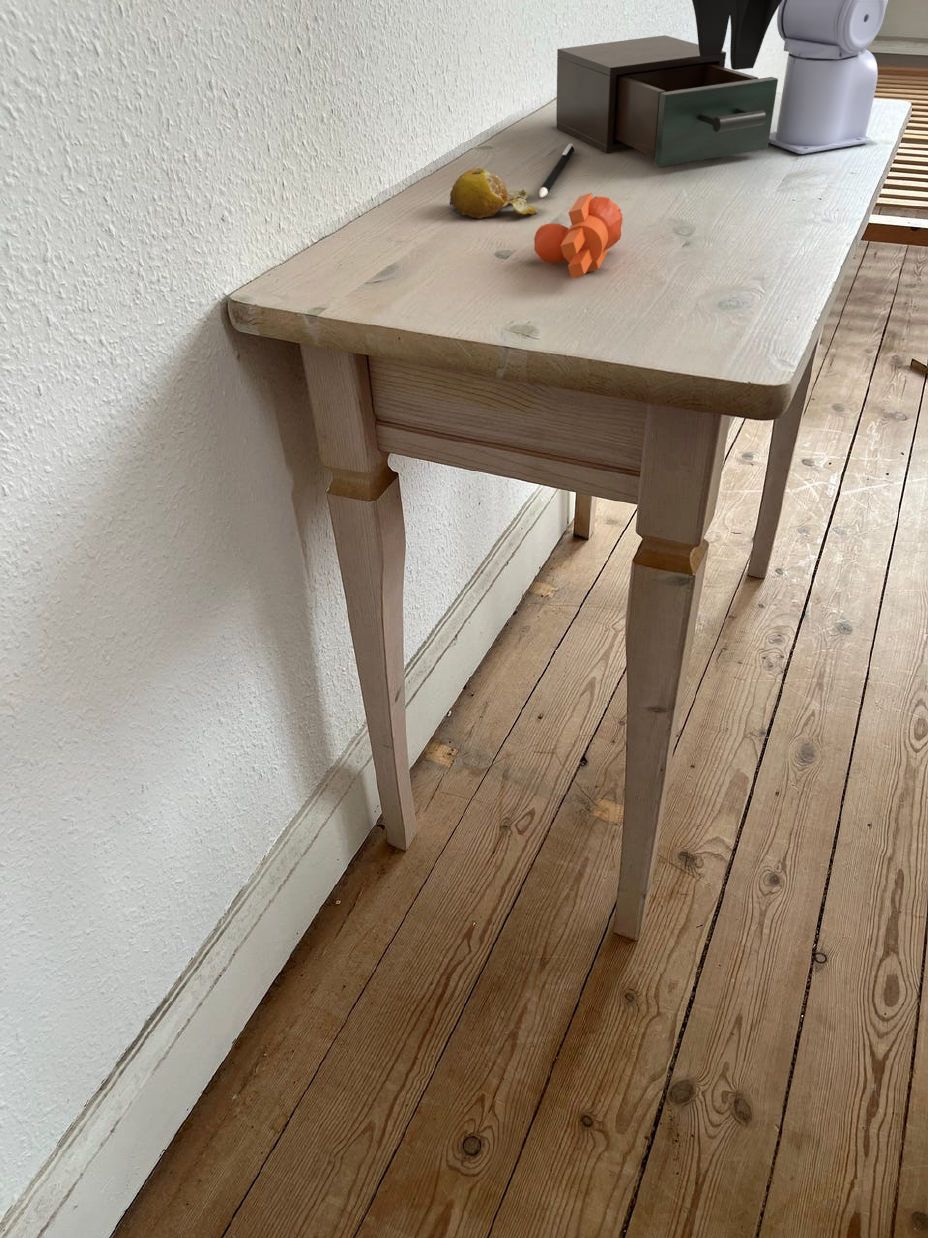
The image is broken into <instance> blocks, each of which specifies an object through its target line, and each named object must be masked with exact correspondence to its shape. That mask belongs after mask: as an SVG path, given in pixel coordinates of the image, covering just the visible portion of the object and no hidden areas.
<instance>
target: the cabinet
mask: <svg viewBox="0 0 928 1238" xmlns="http://www.w3.org/2000/svg"><path fill="white" fill-rule="evenodd" d="M726 58H727V52H726V51H723V50H722V52H721V55H713V56H703V57H702V56H700V52H699V45H698V43H696V42H695V43H694V42H691V41H687V40H683V39H680V38H676V37H672V36H669V35H657V36H649V37H648V36H647V37H642V38H641V37H640V38H633V39H625V40H617V41H609V42H608V41H607V42H601V43H593V44H586V45H578V46H577V45H576V46H570V47H562V48H557V49H556V109H555V110H556V117H555V118H556V119H555V121H556V124H555V128H556V129H557V130H559V131H561V132H563V133H565V134H567V135H570V136H571V137H573V138H575V139H578V140H580V141H582V142H583V143H585V144H588V145H589V146H591V147H593V148H595V149H598V150H600V151H601V152H603V153H606V154H609V153H616V152H623V151H629V150H634V149H635V148H633V147H631V146H629V145H627V144H624V143H622V142H620V141H618V140H616V139H614V138H613V131H614V111H615V91H616V75H620V74H628V73H635V72H642V71H650V70H657V69H664V68H671V67H679V66H686V65H693V64H700V63H711V64H714V65H718V66H721V67H725V66H726V60H727V59H726ZM725 68H726V67H725ZM635 150H636V149H635Z"/></svg>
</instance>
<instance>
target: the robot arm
mask: <svg viewBox="0 0 928 1238" xmlns="http://www.w3.org/2000/svg"><path fill="white" fill-rule="evenodd" d="M691 2H692V6H693V10H694V16H695V25H696V34H697V42H698V43H697V44H698V45H699V52H700V56H702V57H703V56H713V55H721V52H722V51H723V49H724V45H725V42H726V37H727V31H728V28H729V27H728V26H729V23H730V45H729V46H730V50H729V51H730V53H729V57H730V58H729V60H730V69H731V70H735V71H738V70H747V69H754V67H755V64H756V62H757V59H758V56H759V53H760V50H761V47H762V45H763V42H764V39H765V36H766V34H767V31H768V28H769V26H770V24H771V22H772V19H773V17H774V15H775V14H776V11H777V15H776V27H777V31H778V34H779V36H780V38H781V39H782V41H784V44H783V52H787V61H786V67H785V74H784V79H783V86H782V92H781V100H780V105H779V113H778V119H777V126H776V131H771V132H770V137H769V144H772V145H774V146H776V147H779V148H782V149H784V150H787V151H790V152H793V153H795V154H799V155H804V154H811V153H815V152H821V151H828V150H832V149H833V150H834V149H839V148H845V147H846V148H847V147H851V146H857V145H863V144H869V143H870V142H871V137H868V136H867V133H868V127H869V122H870V117H871V113H872V109H873V104H874V99H875V94H876V89H877V84H878V78H879V77H878V73H879V71H878V64H877V60H876V57H875V56H874V54H873V53H872V52H870V51H869V50H868V49H867V48H868V47H869V46H870V44H872V42H873V41H874V40H875V38H876V36H877V35H878V33H879V31H880V30H881V27H882V24H883V22H884V18H885V14H886V9H887V6H888V2H889V0H691ZM729 21H730V22H729Z"/></svg>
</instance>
